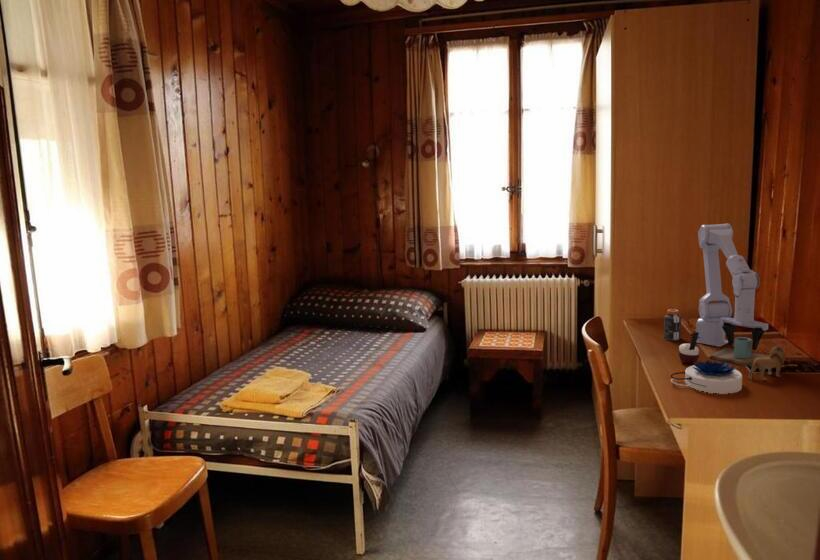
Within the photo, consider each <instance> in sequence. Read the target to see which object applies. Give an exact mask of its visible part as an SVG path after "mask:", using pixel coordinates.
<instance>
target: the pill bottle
mask: <svg viewBox="0 0 820 560" xmlns="http://www.w3.org/2000/svg"><path fill="white" fill-rule="evenodd" d="M666 313H667V314H665V315H664V323H663V324H664V325H663V327H664V328H663V338H664V339H665V340H668V341H678V340H681V338H682V337H681V336H682V332H681V331H682V317H681V315H679V310H678V309H676V308H669V309H667V311H666Z"/></svg>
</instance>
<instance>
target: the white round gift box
mask: <svg viewBox="0 0 820 560" xmlns="http://www.w3.org/2000/svg"><path fill="white" fill-rule="evenodd" d="M693 363H694V364H692V365H690V366H688V367H686V369H685V371H682V372H681V371H680V372H675V373H672V374H671V375H670V377H671V379H670V382H671V383H673V384H674V385H677V386H681V387H688V386H689V387H688V388H690V387H691V388H690V389H692V388H694V389H696V390H695V391H697V390H699V391H698V392H701V391H704V392H703V393H706V392H708V393H707V394H713V393H717V394H716V395H728V393H730V394H734V393H735V394H736V393H738V392H740V391H741V390H742V387H743V374H742V372H741V371H739V370H738V369H736V368H738V366H734V367H732V366H731V364H728V365H727V362H726V361H723V362H722V361H721V362H718V361H716V360H715V361H714V362H712V361H710V360H709V359H707V360H706V361H705V362H703V361H699V360H698V361H697V362H693ZM679 374H684V378H678V377H677V378H676V377H673V376H674V375H675V376H676V375H679ZM674 380H675V381H676V380H677V381H684V383H686V384H687V385H686V384H683V383H682V384H681V383H677V382H674ZM694 389H693V390H694ZM718 393H719V394H718Z"/></svg>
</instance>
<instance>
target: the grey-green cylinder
mask: <svg viewBox="0 0 820 560" xmlns="http://www.w3.org/2000/svg"><path fill="white" fill-rule="evenodd" d="M752 343H753V339H752V338H750V337H745V336H744V337H743V336H738V337H737V336H736V337H734V343H733V349H734V356H735V357H737V358H750V357H751V352H752Z"/></svg>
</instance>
